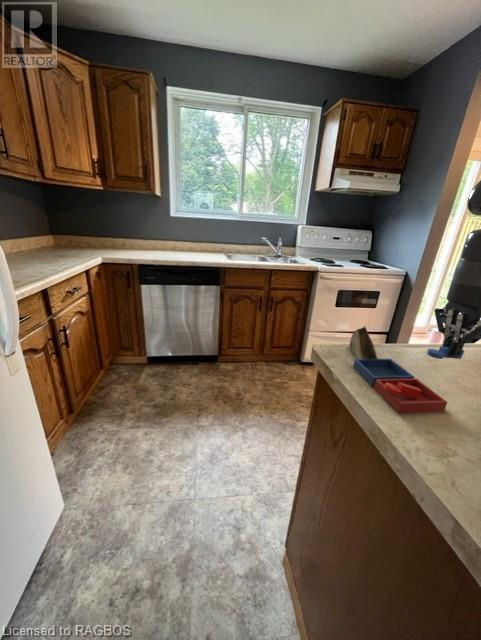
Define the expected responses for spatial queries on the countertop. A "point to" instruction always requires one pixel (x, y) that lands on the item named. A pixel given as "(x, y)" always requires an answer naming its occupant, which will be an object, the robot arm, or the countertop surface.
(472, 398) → the countertop surface
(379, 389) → the red tray
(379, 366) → the blue tray
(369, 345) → the rock
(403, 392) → the red spoon
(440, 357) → the blue spoon
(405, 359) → the countertop surface
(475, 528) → the countertop surface
